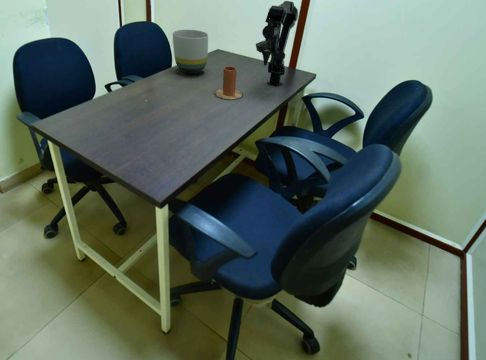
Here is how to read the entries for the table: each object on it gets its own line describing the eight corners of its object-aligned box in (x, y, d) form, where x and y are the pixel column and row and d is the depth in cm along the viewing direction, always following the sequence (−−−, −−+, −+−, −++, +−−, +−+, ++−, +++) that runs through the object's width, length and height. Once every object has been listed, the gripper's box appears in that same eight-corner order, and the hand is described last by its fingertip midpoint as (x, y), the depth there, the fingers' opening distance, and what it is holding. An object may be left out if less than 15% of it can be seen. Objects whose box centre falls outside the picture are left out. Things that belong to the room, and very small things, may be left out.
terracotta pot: (225, 90, 160) (226, 65, 152) (236, 92, 159) (238, 67, 151) (220, 94, 156) (221, 68, 148) (232, 96, 154) (233, 71, 146)
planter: (168, 70, 179) (165, 31, 166) (195, 65, 190) (194, 28, 176) (187, 80, 168) (185, 39, 155) (214, 74, 179) (215, 36, 166)
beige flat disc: (227, 86, 165) (227, 86, 165) (247, 94, 159) (247, 93, 158) (209, 93, 156) (209, 92, 156) (230, 102, 150) (230, 101, 150)
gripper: (251, 31, 150) (247, 63, 159) (267, 40, 136) (262, 74, 146) (271, 31, 154) (266, 62, 163) (288, 40, 140) (282, 74, 150)
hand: (268, 68), depth 155 cm, fingers open, 9 cm apart
